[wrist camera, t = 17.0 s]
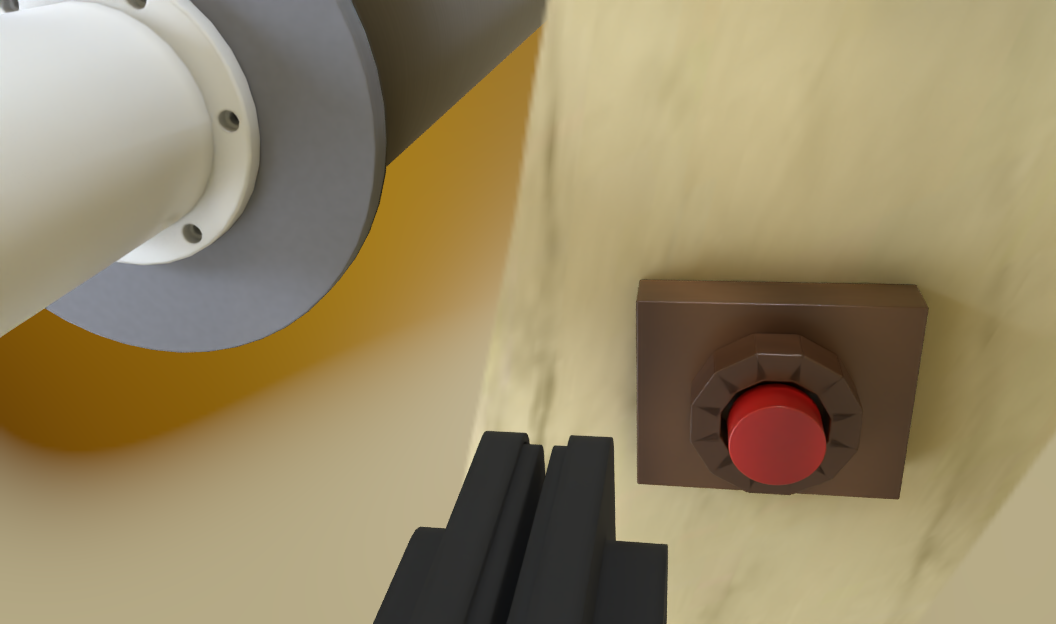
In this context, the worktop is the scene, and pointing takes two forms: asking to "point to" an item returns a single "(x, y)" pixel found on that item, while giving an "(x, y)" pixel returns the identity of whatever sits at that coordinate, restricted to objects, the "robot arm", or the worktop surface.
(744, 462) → the button
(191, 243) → the robot arm
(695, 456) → the button box
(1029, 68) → the worktop surface
